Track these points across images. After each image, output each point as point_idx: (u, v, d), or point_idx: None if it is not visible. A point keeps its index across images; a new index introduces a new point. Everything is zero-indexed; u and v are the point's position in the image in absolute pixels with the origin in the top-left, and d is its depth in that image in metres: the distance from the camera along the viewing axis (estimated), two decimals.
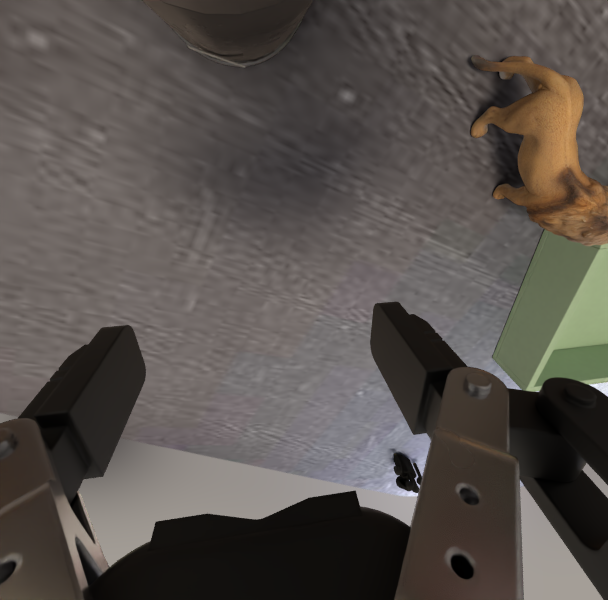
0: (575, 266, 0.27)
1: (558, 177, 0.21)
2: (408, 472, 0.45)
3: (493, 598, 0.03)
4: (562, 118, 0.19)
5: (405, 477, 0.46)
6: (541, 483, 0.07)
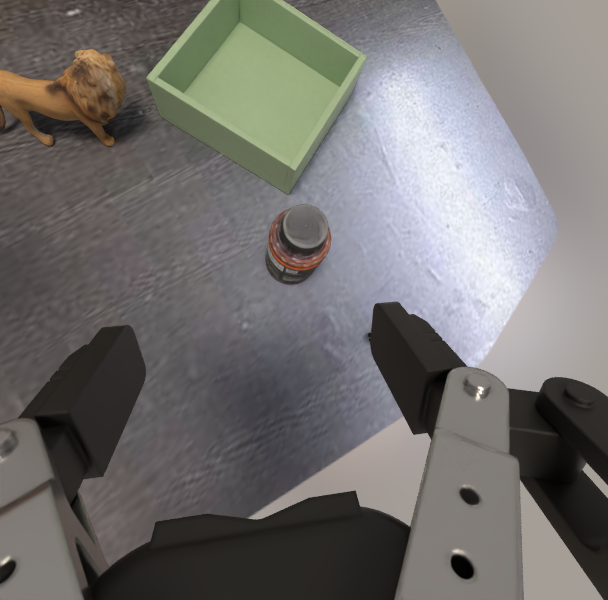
0: (173, 102, 0.33)
1: (50, 93, 0.30)
2: None
3: (493, 598, 0.03)
4: (0, 82, 0.28)
5: None
6: (541, 483, 0.07)
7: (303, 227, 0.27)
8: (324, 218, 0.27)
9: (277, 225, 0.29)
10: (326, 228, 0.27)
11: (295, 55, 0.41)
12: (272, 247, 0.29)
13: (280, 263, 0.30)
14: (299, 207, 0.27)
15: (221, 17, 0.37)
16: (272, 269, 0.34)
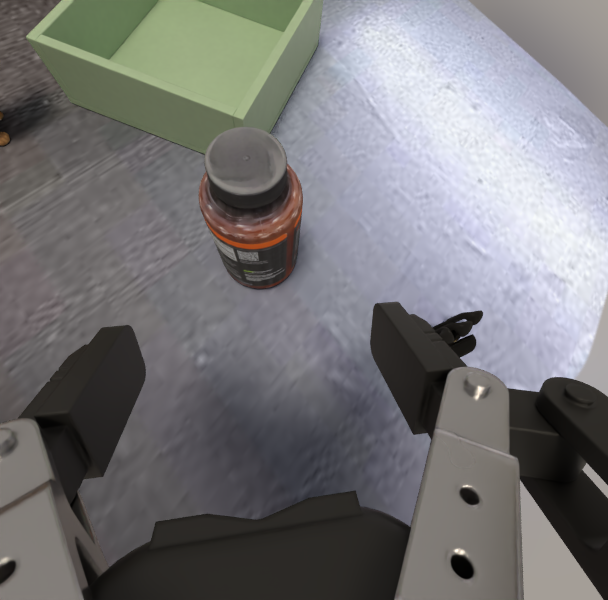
0: (69, 65, 0.25)
1: None
2: None
3: (493, 598, 0.03)
4: None
5: None
6: (541, 483, 0.07)
7: (241, 161, 0.15)
8: (277, 143, 0.16)
9: (206, 178, 0.17)
10: (282, 158, 0.15)
11: (239, 12, 0.33)
12: (204, 215, 0.17)
13: (225, 243, 0.18)
14: (231, 132, 0.16)
15: None
16: (228, 266, 0.22)
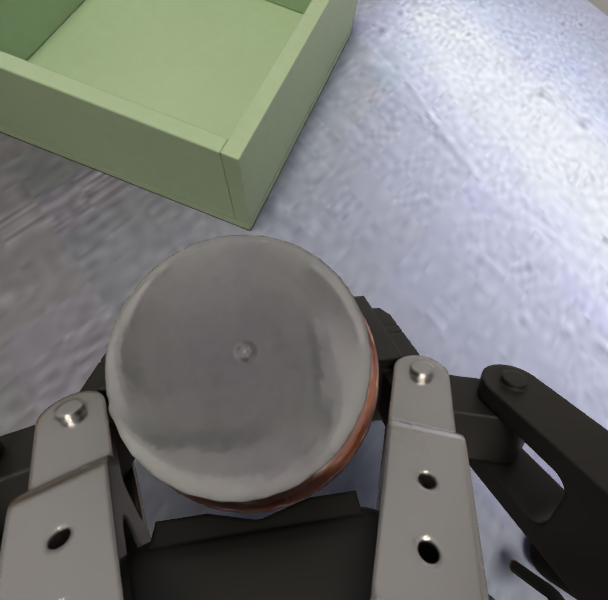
0: None
1: None
2: None
3: (459, 575, 0.04)
4: None
5: None
6: (489, 467, 0.07)
7: (227, 367, 0.05)
8: (340, 292, 0.05)
9: None
10: (360, 346, 0.05)
11: None
12: None
13: None
14: (199, 257, 0.05)
15: None
16: None
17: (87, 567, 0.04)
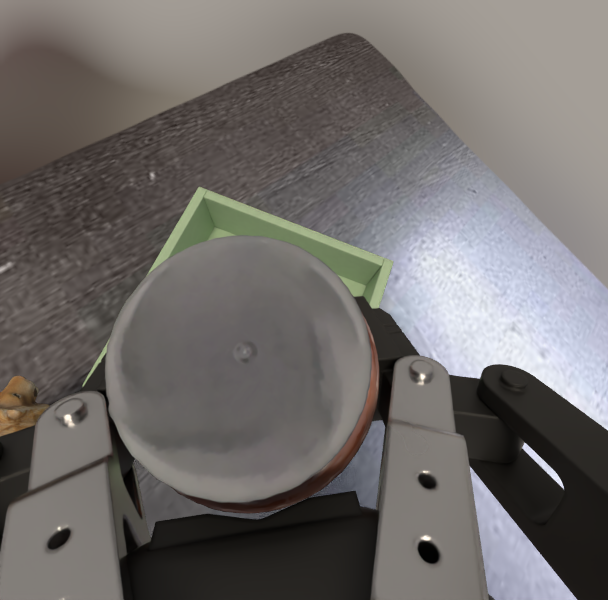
0: None
1: None
2: None
3: (459, 575, 0.04)
4: None
5: None
6: (489, 468, 0.07)
7: (227, 367, 0.05)
8: (340, 292, 0.05)
9: None
10: (360, 346, 0.05)
11: None
12: None
13: None
14: (199, 257, 0.05)
15: (187, 246, 0.27)
16: None
17: (87, 567, 0.04)
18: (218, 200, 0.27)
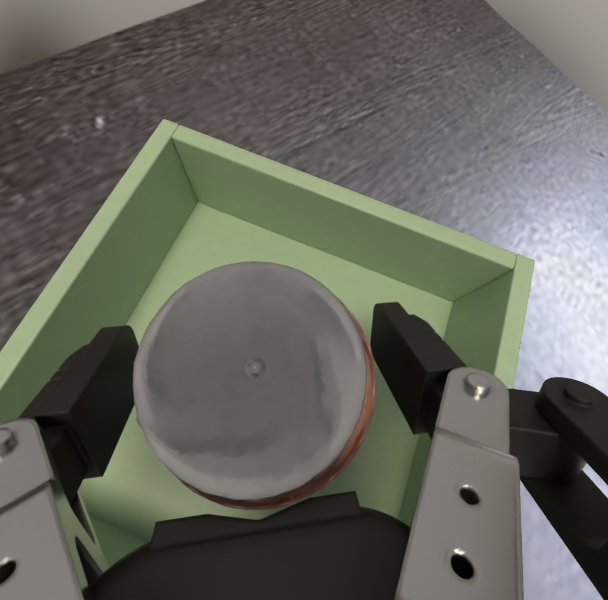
0: None
1: None
2: None
3: (493, 598, 0.03)
4: None
5: None
6: (541, 483, 0.07)
7: (240, 381, 0.05)
8: (339, 313, 0.06)
9: None
10: (357, 362, 0.05)
11: (327, 250, 0.18)
12: None
13: None
14: (213, 282, 0.06)
15: (141, 231, 0.15)
16: None
17: (41, 593, 0.04)
18: (198, 142, 0.14)
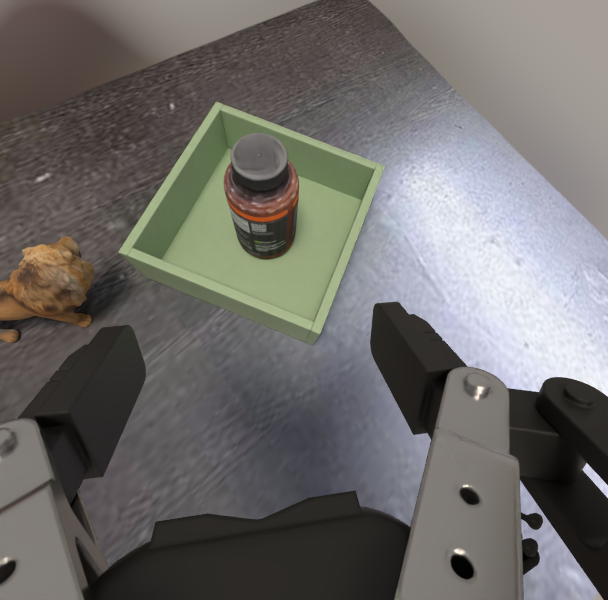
0: (155, 270, 0.27)
1: None
2: None
3: (493, 598, 0.03)
4: None
5: None
6: (541, 483, 0.07)
7: (256, 157, 0.22)
8: (281, 144, 0.22)
9: (229, 169, 0.24)
10: (284, 155, 0.22)
11: None
12: (228, 196, 0.24)
13: (242, 217, 0.25)
14: (249, 136, 0.22)
15: (205, 154, 0.31)
16: (242, 238, 0.29)
17: (41, 592, 0.04)
18: (232, 112, 0.31)
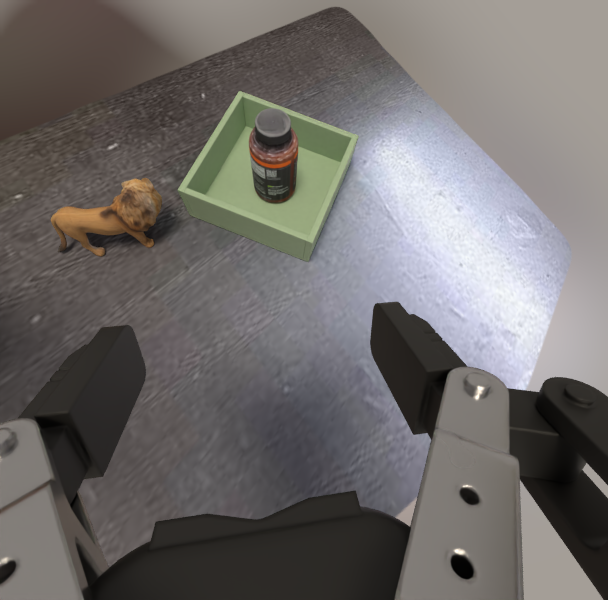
0: (201, 204, 0.39)
1: (104, 217, 0.36)
2: None
3: (493, 598, 0.03)
4: (65, 216, 0.35)
5: None
6: (541, 483, 0.07)
7: (271, 123, 0.34)
8: (286, 115, 0.35)
9: (253, 133, 0.37)
10: (289, 121, 0.35)
11: None
12: (251, 150, 0.37)
13: (260, 165, 0.37)
14: (266, 110, 0.35)
15: (231, 128, 0.44)
16: (258, 185, 0.42)
17: (41, 593, 0.04)
18: (251, 98, 0.43)
